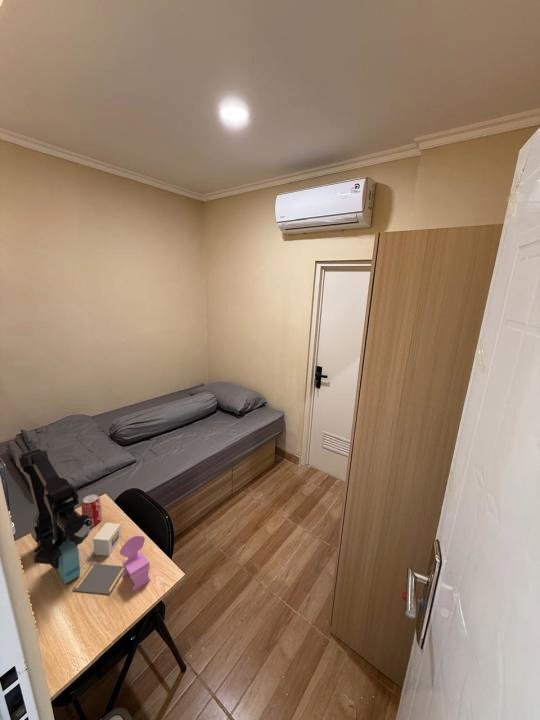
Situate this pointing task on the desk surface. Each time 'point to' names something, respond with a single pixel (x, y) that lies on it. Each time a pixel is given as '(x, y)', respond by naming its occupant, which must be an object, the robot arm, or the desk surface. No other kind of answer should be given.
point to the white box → (107, 539)
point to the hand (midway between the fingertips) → (66, 557)
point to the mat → (100, 579)
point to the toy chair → (135, 561)
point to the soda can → (92, 508)
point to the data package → (68, 561)
